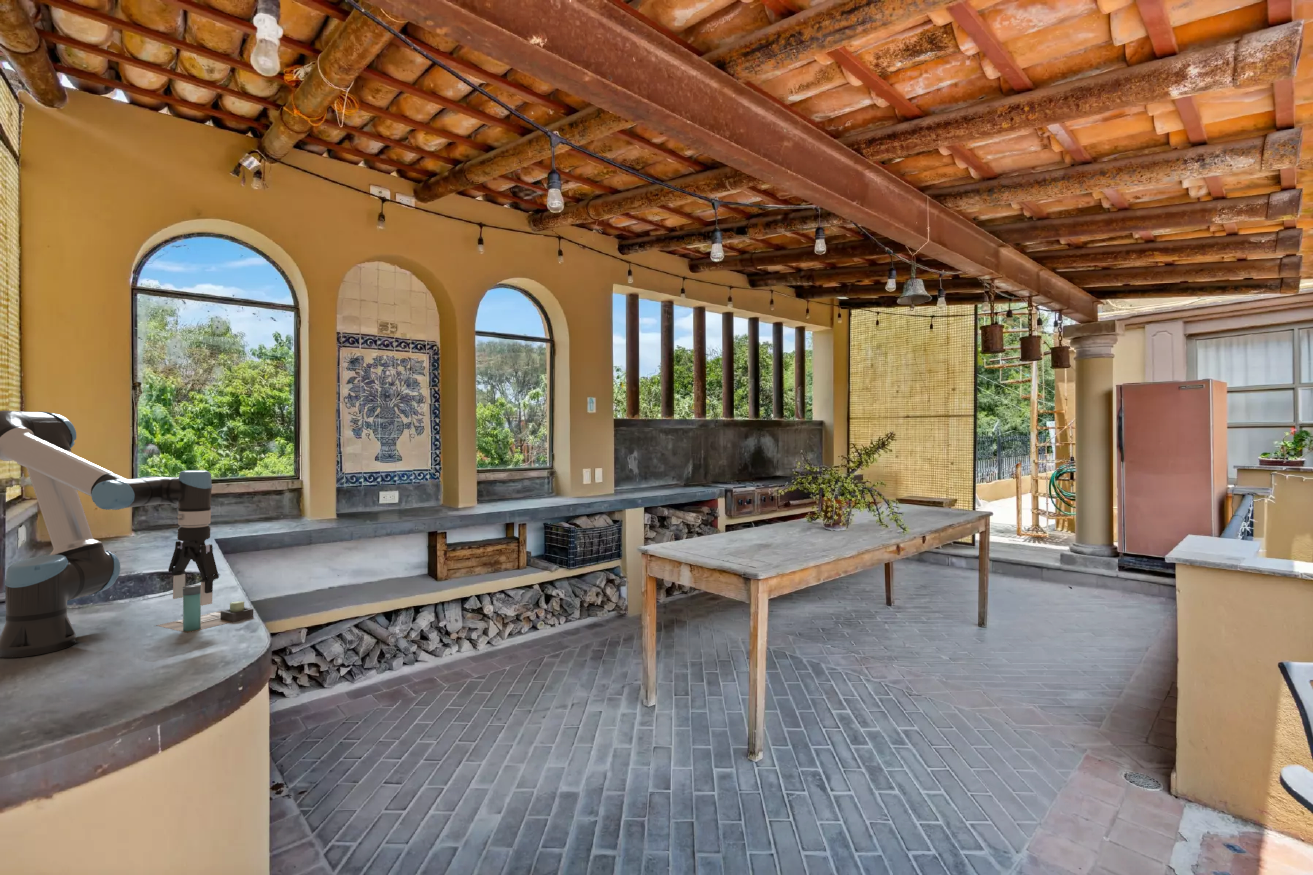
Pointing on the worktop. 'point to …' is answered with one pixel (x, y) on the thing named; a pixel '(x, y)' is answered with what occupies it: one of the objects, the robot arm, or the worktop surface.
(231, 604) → the button
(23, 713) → the worktop surface
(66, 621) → the robot arm
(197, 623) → the marker
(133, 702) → the worktop surface
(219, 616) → the clipboard
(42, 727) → the worktop surface
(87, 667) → the worktop surface
